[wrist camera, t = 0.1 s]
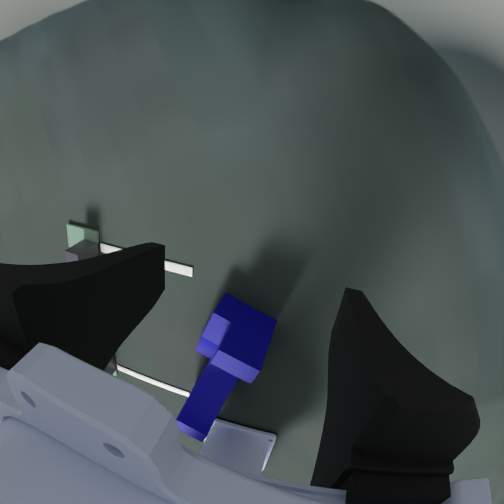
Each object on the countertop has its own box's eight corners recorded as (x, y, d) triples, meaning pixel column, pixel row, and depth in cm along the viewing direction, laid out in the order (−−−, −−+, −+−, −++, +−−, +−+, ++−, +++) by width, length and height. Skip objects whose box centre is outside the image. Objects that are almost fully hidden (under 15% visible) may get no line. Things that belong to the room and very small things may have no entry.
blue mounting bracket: (226, 291, 25) (197, 338, 20) (277, 319, 25) (260, 371, 20) (182, 375, 31) (157, 418, 25) (222, 396, 30) (202, 441, 25)
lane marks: (189, 396, 31) (189, 397, 31) (118, 369, 33) (117, 369, 33) (193, 267, 25) (192, 268, 25) (100, 243, 26) (100, 243, 26)
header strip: (118, 374, 33) (94, 404, 29) (92, 363, 34) (69, 390, 29) (98, 230, 26) (58, 254, 21) (68, 223, 26) (29, 244, 22)
